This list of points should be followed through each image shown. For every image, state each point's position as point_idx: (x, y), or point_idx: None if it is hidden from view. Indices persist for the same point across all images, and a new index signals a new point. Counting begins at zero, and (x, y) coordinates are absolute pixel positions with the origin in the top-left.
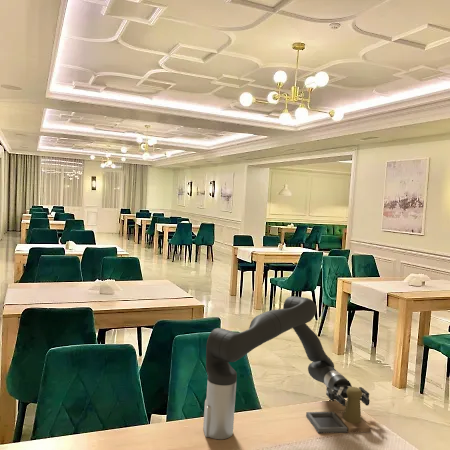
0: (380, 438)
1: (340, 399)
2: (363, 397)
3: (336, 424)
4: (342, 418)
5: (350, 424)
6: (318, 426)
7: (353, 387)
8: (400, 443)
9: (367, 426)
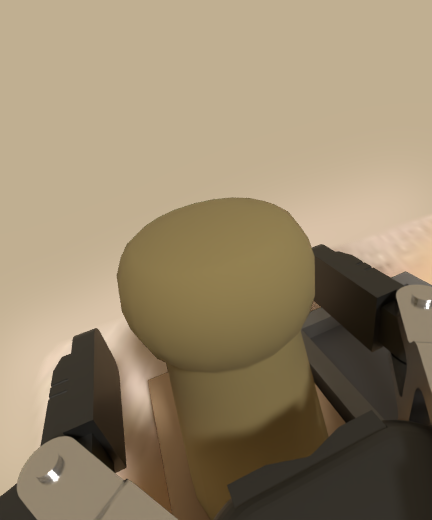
0: (129, 357)
1: (353, 259)
2: (99, 399)
3: (356, 385)
4: (332, 430)
5: None
6: (420, 284)
7: (216, 224)
8: (59, 352)
9: (165, 385)
